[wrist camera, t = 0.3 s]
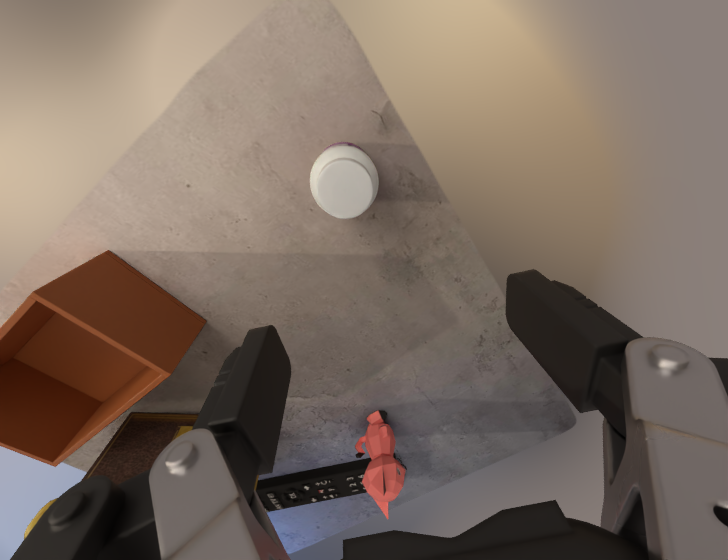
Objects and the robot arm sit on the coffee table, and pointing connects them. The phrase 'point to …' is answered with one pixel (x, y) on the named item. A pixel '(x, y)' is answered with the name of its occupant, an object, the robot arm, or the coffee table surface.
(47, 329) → the orange open bin
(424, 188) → the coffee table surface
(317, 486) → the remote control
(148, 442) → the book
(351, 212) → the pill bottle
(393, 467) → the cat figurine
